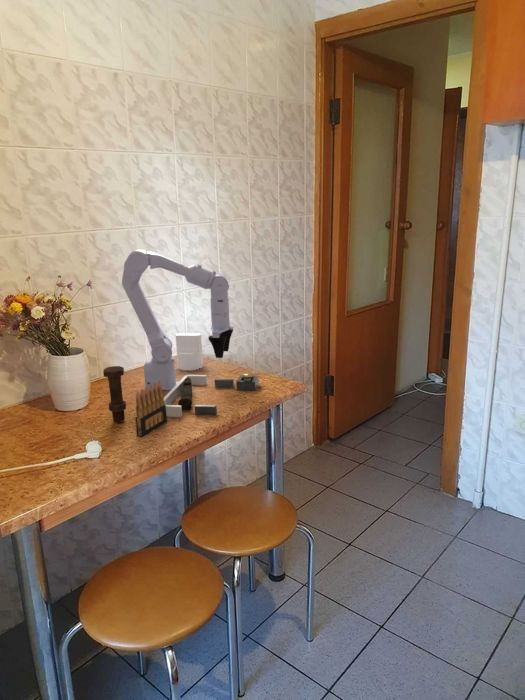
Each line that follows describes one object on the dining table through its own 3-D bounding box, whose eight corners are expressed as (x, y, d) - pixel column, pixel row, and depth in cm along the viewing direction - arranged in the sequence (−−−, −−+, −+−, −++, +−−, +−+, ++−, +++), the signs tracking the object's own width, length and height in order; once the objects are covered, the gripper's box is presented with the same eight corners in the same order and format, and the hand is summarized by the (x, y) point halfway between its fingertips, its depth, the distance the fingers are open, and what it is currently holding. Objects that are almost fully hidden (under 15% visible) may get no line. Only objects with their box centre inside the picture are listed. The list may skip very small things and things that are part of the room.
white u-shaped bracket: (156, 416, 149) (155, 406, 148) (186, 383, 175) (185, 374, 175) (181, 416, 148) (180, 406, 147) (207, 383, 174) (206, 375, 174)
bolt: (133, 418, 147) (128, 366, 143) (123, 426, 143) (117, 372, 139) (115, 416, 149) (109, 365, 145) (104, 423, 145) (98, 370, 141)
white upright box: (174, 370, 190) (172, 337, 187) (182, 362, 199) (180, 331, 196) (199, 370, 189) (197, 337, 186) (205, 363, 197) (203, 331, 194)
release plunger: (241, 387, 168) (240, 375, 167) (243, 383, 172) (242, 372, 171) (252, 387, 168) (251, 376, 167) (254, 383, 171) (253, 372, 170)
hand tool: (192, 411, 152) (191, 396, 151) (178, 412, 152) (177, 396, 151) (197, 389, 170) (196, 375, 169) (185, 389, 170) (184, 375, 169)
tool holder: (195, 414, 149) (194, 404, 148) (217, 383, 174) (217, 374, 174) (242, 416, 147) (242, 405, 146) (258, 384, 172) (258, 375, 171)
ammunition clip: (161, 421, 145) (158, 379, 142) (167, 422, 145) (164, 379, 142) (136, 436, 136) (132, 391, 133) (142, 437, 135) (138, 392, 132)
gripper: (227, 317, 162) (229, 360, 166) (237, 308, 176) (238, 348, 180) (204, 317, 163) (207, 360, 167) (216, 308, 177) (218, 348, 181)
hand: (222, 354), depth 173 cm, fingers open, 7 cm apart
